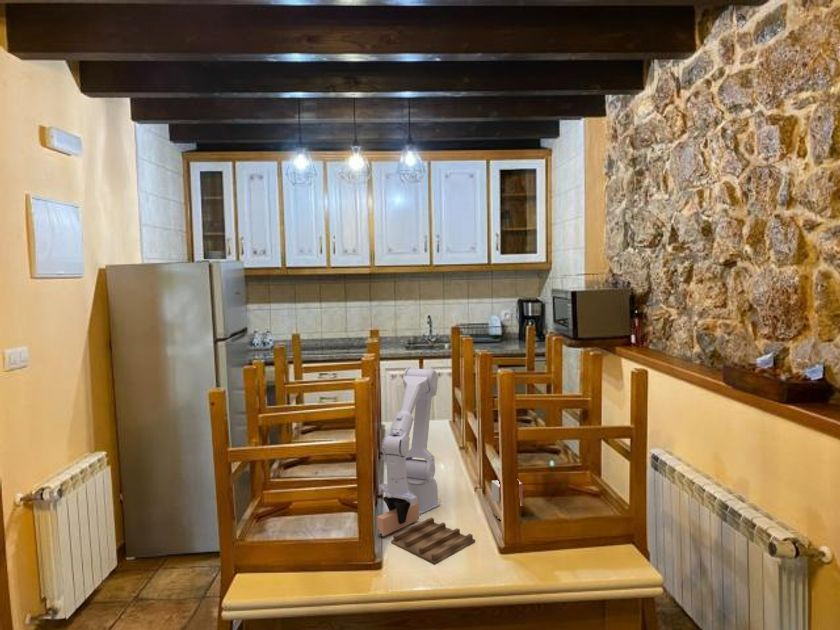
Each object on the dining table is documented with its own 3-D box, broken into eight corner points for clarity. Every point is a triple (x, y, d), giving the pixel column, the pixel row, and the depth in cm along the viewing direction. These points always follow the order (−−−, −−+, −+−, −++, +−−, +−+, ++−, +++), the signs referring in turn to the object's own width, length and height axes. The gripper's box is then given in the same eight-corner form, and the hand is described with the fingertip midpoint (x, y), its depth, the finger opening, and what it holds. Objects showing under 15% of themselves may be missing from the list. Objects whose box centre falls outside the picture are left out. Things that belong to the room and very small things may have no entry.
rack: (431, 523, 168) (431, 516, 168) (475, 541, 156) (475, 534, 156) (391, 542, 157) (390, 535, 157) (434, 564, 145) (434, 556, 145)
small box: (498, 521, 168) (498, 487, 167) (491, 513, 173) (490, 480, 172) (523, 517, 170) (522, 483, 169) (515, 509, 175) (514, 476, 174)
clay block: (413, 516, 171) (412, 500, 171) (419, 519, 169) (418, 503, 169) (377, 533, 161) (377, 516, 161) (383, 536, 160) (382, 519, 159)
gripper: (370, 473, 166) (372, 518, 168) (403, 486, 156) (405, 533, 157) (388, 467, 171) (390, 510, 173) (421, 479, 161) (423, 525, 162)
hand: (398, 521), depth 165 cm, fingers closed on clay block, 2 cm apart
